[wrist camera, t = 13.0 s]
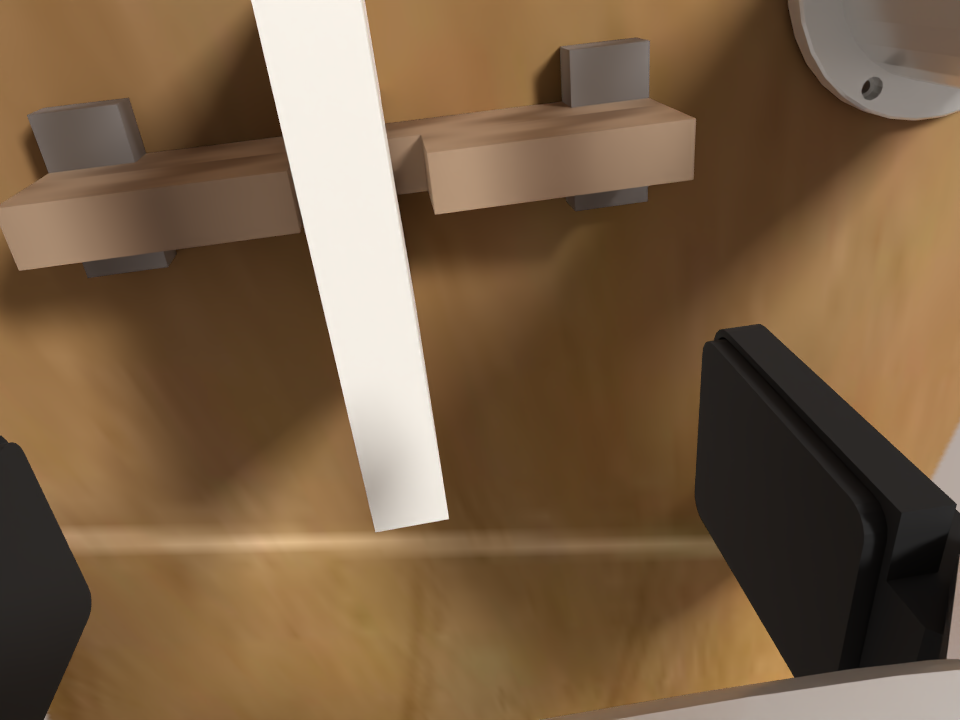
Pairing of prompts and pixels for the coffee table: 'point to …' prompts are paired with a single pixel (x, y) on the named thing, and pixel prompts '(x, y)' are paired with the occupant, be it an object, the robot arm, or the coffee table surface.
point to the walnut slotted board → (270, 187)
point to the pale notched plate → (356, 245)
